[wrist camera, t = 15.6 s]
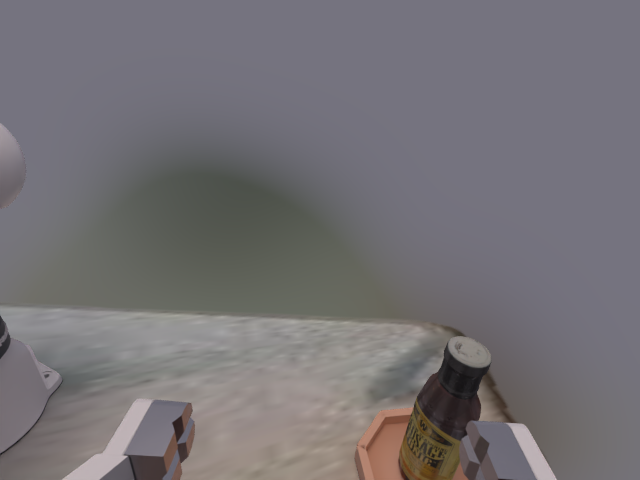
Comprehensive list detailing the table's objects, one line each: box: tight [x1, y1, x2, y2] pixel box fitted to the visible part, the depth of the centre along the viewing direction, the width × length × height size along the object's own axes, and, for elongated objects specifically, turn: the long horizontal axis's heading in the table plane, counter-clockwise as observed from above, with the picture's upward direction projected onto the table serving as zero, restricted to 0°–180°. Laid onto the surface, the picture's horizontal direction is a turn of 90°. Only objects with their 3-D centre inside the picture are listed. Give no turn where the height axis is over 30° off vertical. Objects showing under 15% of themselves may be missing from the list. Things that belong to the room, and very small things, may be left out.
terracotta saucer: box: [355, 408, 469, 480], centre depth 41 cm, size 15×15×2 cm
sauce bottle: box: [398, 336, 491, 480], centre depth 37 cm, size 7×6×20 cm
